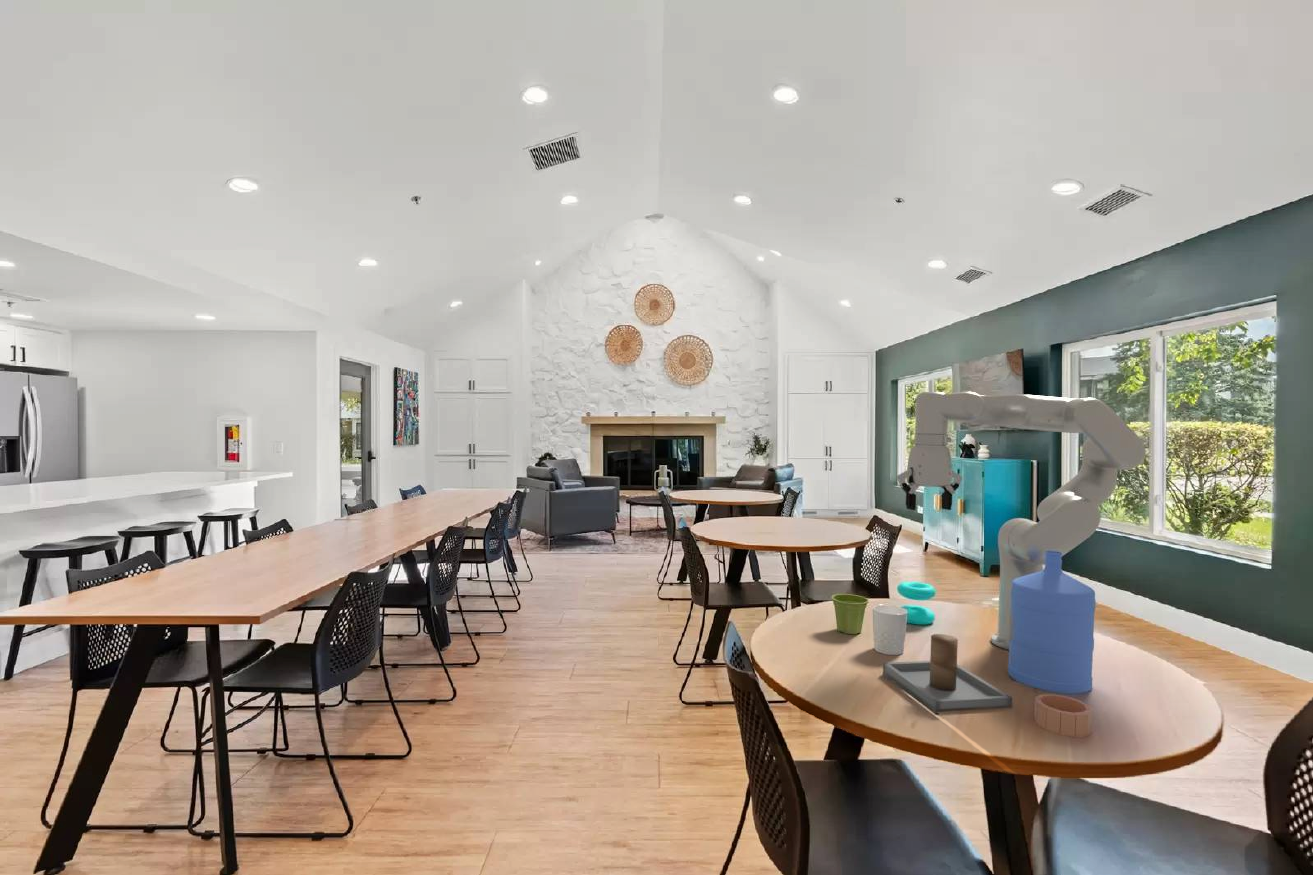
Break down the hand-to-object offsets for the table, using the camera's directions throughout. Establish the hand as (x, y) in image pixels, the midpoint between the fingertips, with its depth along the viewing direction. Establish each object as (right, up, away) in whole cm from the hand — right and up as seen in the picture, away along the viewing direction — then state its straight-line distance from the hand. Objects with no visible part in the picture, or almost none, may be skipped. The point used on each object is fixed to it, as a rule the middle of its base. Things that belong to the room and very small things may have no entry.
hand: (928, 509), depth 168 cm
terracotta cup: (+5, -35, -47) cm, 58 cm away
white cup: (-13, -34, -7) cm, 36 cm away
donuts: (+4, -33, +18) cm, 38 cm away
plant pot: (-18, -33, +7) cm, 38 cm away
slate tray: (-10, -34, -31) cm, 47 cm away
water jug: (+16, -35, -25) cm, 45 cm away
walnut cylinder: (-10, -33, -31) cm, 46 cm away
